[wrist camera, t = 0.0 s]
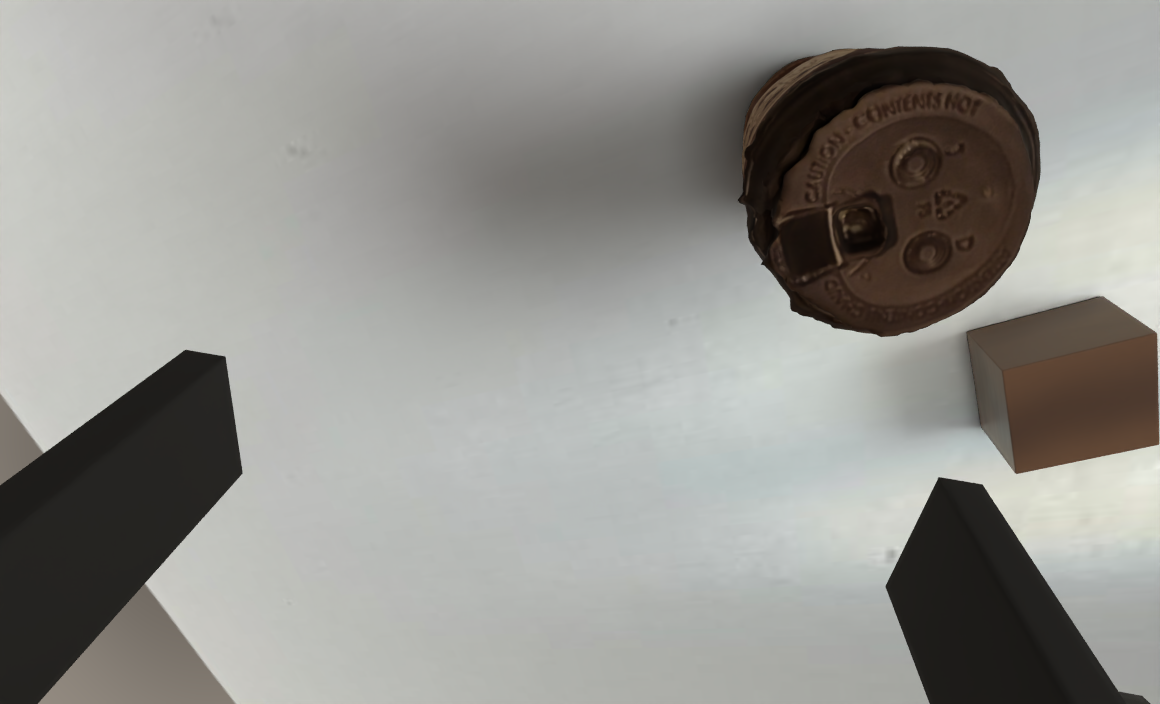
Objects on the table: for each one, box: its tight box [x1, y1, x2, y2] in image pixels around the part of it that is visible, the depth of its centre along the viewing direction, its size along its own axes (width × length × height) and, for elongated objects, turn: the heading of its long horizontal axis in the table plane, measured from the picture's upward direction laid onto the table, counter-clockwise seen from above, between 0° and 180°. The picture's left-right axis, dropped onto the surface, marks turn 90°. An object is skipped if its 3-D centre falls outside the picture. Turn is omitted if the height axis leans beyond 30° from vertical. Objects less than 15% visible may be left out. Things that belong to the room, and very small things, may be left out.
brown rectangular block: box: [967, 297, 1159, 474], centre depth 32 cm, size 6×6×4 cm
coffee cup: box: [738, 46, 1040, 337], centre depth 24 cm, size 9×8×13 cm
